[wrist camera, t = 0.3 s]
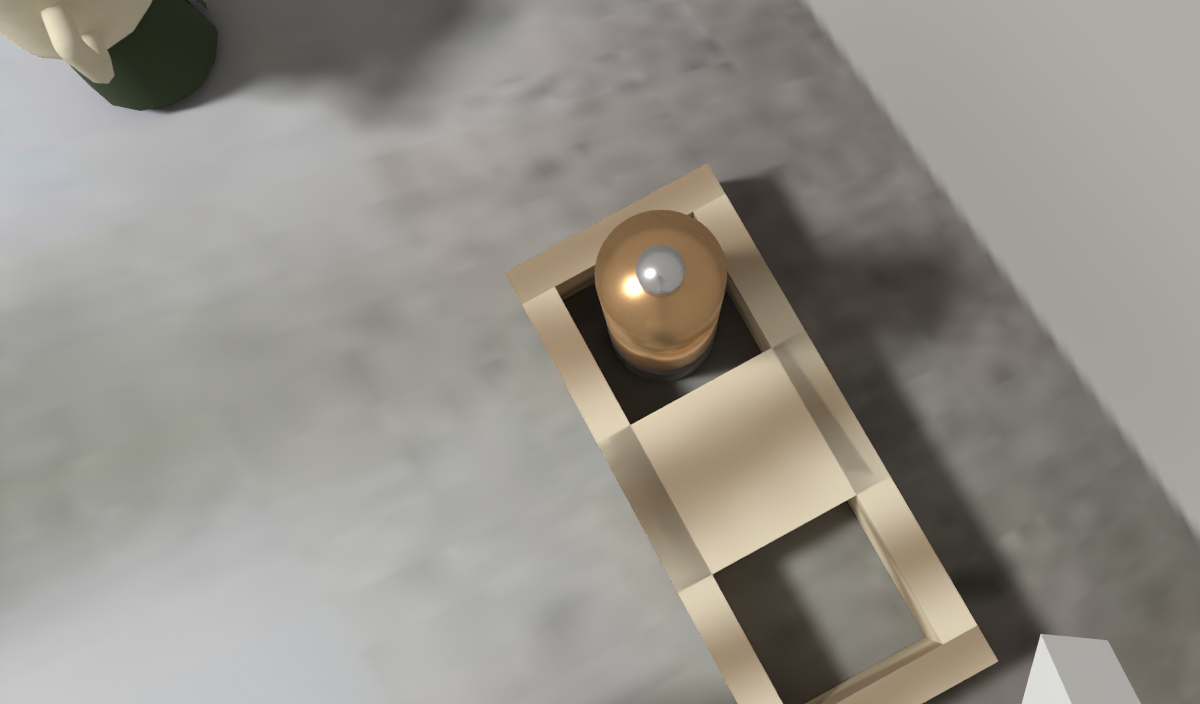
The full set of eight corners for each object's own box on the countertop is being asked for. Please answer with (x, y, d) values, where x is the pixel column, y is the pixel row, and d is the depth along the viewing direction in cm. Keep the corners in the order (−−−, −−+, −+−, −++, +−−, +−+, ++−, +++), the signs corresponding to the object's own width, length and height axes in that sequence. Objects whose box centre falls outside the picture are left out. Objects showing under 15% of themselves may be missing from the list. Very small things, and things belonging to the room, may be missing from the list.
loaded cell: (734, 349, 48) (755, 294, 37) (641, 400, 48) (632, 361, 37) (683, 259, 49) (687, 177, 38) (591, 309, 49) (567, 242, 37)
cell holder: (977, 652, 46) (998, 661, 43) (773, 765, 46) (780, 782, 43) (705, 184, 50) (707, 163, 47) (514, 287, 49) (505, 272, 46)
